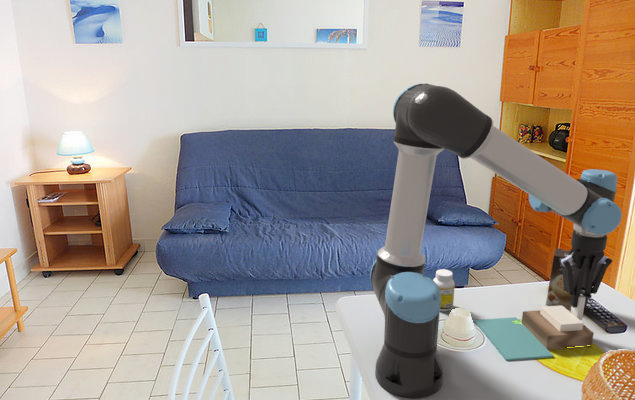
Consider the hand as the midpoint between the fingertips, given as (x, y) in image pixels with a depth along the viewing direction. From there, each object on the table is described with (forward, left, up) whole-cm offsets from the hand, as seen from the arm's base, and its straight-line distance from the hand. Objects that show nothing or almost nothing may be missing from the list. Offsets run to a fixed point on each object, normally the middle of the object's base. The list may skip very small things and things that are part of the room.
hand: (575, 317), depth 123 cm
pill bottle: (-29, +18, -5) cm, 35 cm away
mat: (-17, 0, -5) cm, 18 cm away
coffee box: (+7, +15, -5) cm, 17 cm away
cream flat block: (-4, 0, -1) cm, 4 cm away
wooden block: (-5, 0, -5) cm, 7 cm away
